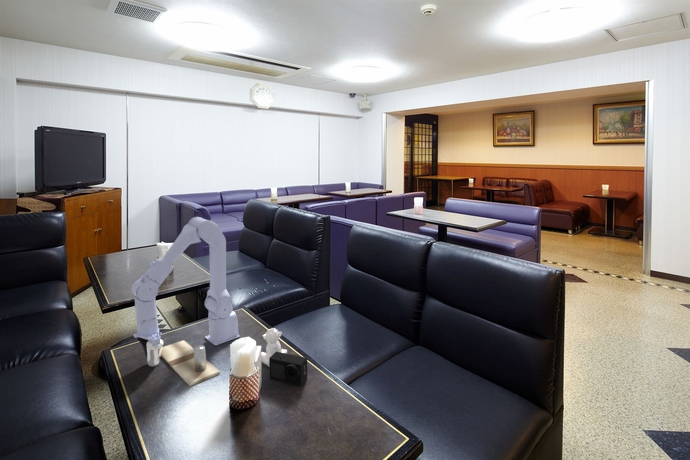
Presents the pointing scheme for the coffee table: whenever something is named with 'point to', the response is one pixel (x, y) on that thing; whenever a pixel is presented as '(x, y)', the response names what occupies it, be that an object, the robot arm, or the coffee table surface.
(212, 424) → the coffee table surface
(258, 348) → the ink cartridge box
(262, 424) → the coffee table surface
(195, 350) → the steel peg
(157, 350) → the white rounded piece
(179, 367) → the plywood panel
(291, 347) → the coffee table surface
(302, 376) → the digital camera
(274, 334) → the seated beast figurine
